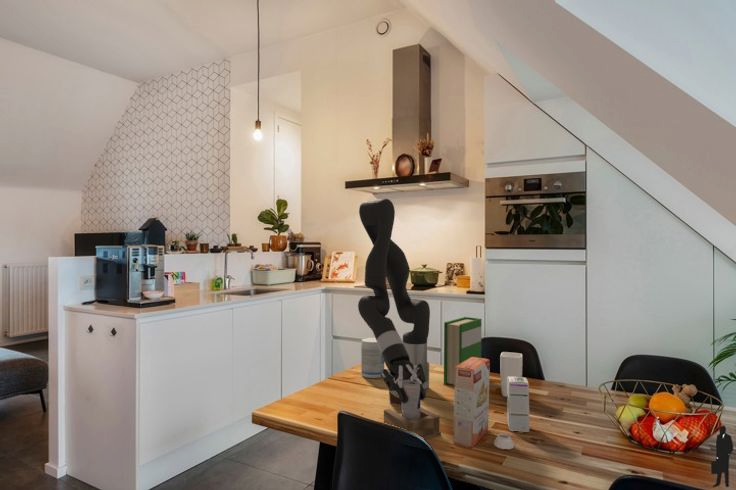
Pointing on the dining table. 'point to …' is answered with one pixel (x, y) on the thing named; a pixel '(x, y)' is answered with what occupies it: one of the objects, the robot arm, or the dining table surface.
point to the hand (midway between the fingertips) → (414, 400)
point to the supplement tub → (371, 359)
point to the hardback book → (460, 344)
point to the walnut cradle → (415, 423)
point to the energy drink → (411, 400)
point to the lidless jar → (503, 441)
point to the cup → (509, 368)
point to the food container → (395, 395)
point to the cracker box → (471, 401)
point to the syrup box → (518, 404)
